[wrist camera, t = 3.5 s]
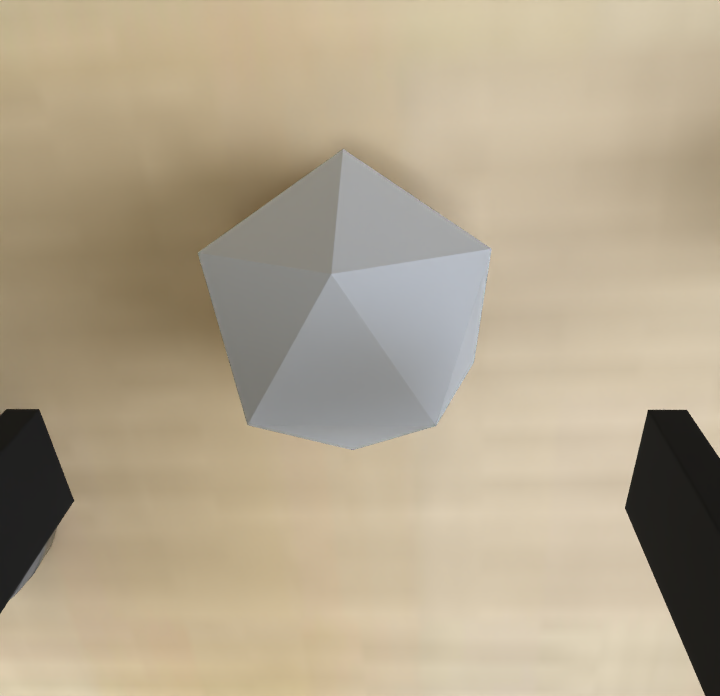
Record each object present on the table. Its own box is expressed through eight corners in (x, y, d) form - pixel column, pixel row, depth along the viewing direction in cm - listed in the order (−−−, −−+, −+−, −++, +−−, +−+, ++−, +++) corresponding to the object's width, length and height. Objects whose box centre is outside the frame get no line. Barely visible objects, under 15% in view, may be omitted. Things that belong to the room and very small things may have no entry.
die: (315, 82, 20) (81, 256, 15) (570, 158, 17) (376, 413, 12) (335, 267, 27) (177, 431, 22) (522, 348, 24) (385, 564, 19)
